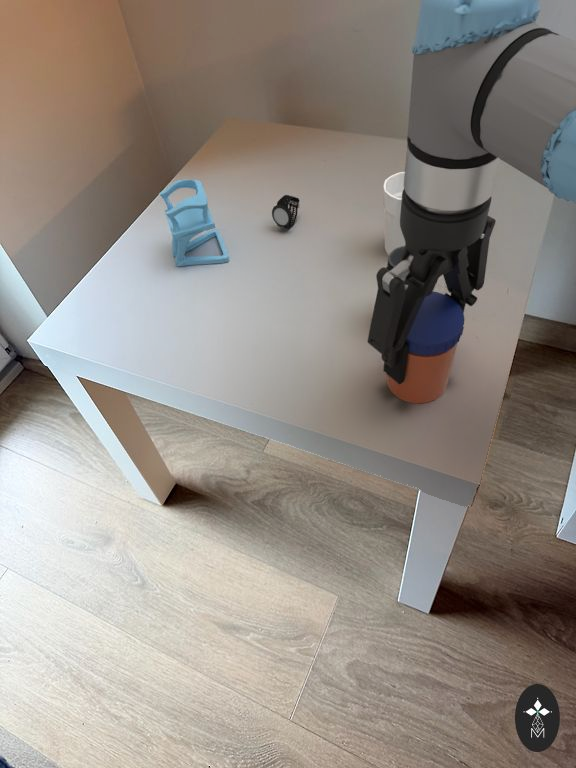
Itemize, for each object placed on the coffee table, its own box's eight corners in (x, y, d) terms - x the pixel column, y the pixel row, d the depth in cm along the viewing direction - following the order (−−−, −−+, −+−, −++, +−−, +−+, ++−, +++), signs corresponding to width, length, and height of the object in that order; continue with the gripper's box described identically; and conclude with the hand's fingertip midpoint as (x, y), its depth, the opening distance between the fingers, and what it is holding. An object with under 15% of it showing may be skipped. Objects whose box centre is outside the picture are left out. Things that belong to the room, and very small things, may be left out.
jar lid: (405, 364, 57) (407, 353, 56) (377, 313, 62) (377, 301, 61) (475, 343, 58) (478, 332, 57) (441, 294, 63) (444, 282, 61)
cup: (424, 235, 84) (432, 171, 75) (424, 264, 80) (432, 200, 71) (381, 234, 85) (384, 171, 76) (379, 262, 81) (382, 200, 72)
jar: (459, 375, 68) (475, 317, 59) (424, 414, 65) (435, 359, 56) (409, 346, 71) (417, 287, 63) (373, 382, 68) (376, 325, 60)
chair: (170, 246, 88) (147, 181, 79) (218, 232, 89) (202, 166, 79) (178, 276, 84) (156, 211, 74) (230, 261, 85) (214, 195, 75)
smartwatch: (270, 226, 89) (266, 200, 85) (295, 212, 90) (292, 186, 86) (285, 238, 87) (282, 211, 83) (310, 224, 88) (308, 197, 84)
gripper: (493, 126, 51) (456, 298, 69) (326, 224, 45) (333, 384, 63) (562, 157, 47) (503, 330, 66) (389, 268, 41) (377, 425, 59)
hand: (420, 356), depth 64 cm, fingers closed on jar lid, 8 cm apart
